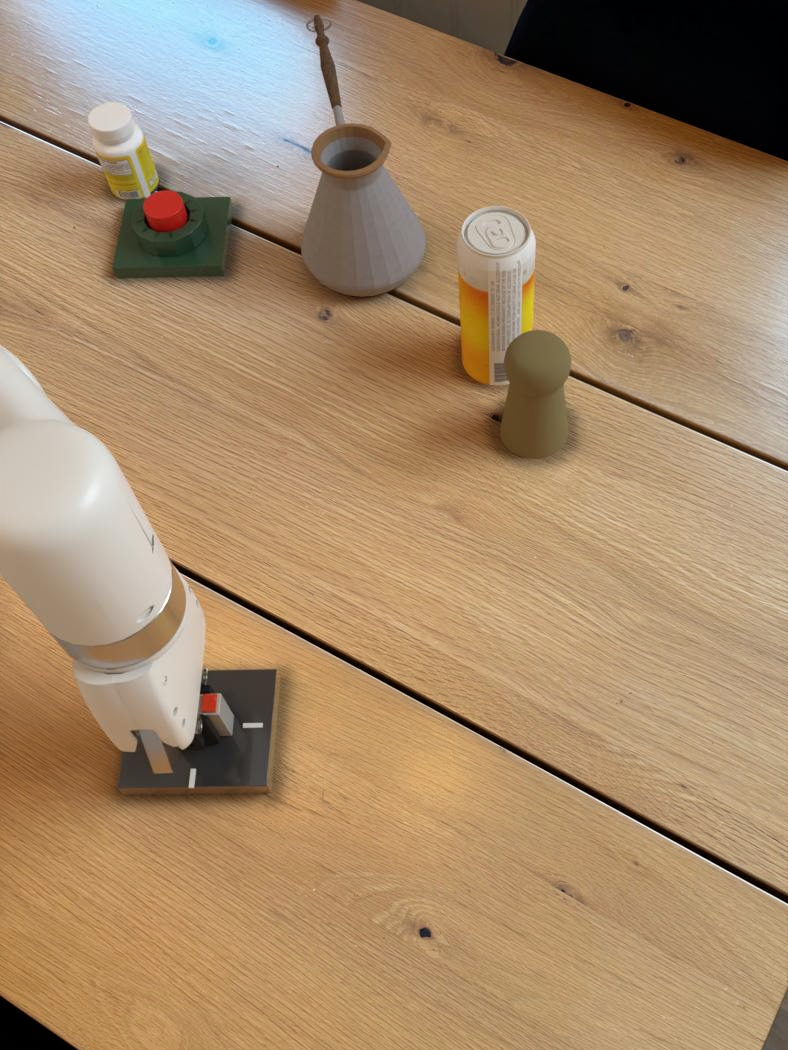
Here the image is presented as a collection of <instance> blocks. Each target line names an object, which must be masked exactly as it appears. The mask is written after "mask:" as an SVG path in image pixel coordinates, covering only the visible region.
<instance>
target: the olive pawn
mask: <svg viewBox="0 0 788 1050" xmlns="http://www.w3.org/2000/svg"><path fill="white" fill-rule="evenodd" d="M571 368H572V357H571V353H570V349H569V347H568V346H567V344H566V343H565V341H564V340H563V339H562V338H561V337H560V336H558V335H557V334H555V333H554V332H550V331H548V330H542V329H533V330H532V331H527V332H525V333H522V334H520V335H519V336H518V337H516V338H515V339H514V340H513V341H512V342H511V343H510V345H509V346H508V348H507V350H506V353H505V358H504V369H505V374H506V377H507V379H508V381H509V382H510V384H508V390H507V393H506V399H505V404H504V409H503V414H502V418H501V423H500V428H499V434H500V439H501V441H502V443H503V445H504V446H505V447H506V449H508V450H509V451H510V452H511V453H513V454H515V455H516V456H519V457H521V458H524V459H533V460H537V459H545V458H548V457H550V456H553V455H555V454H556V453H558V452H559V451H560V450H561V449H562V448H563V447H564V446H565V444H566V443H567V441H568V438H569V431H570V430H569V423H568V422H569V420H568V412H567V411H568V410H567V402H566V393H565V383H566V382H567V381H568V378H569V377H570V375H571Z"/></svg>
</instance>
